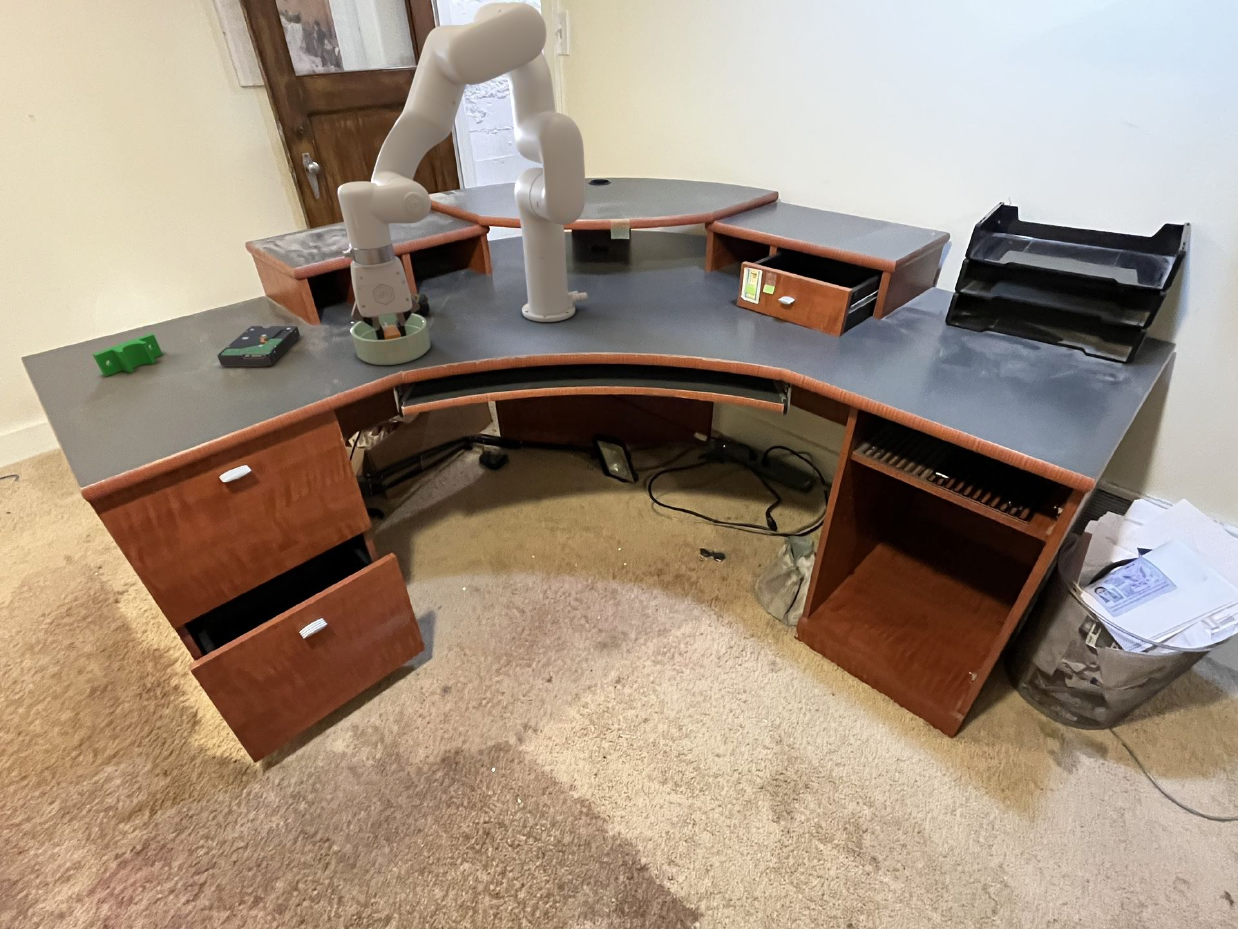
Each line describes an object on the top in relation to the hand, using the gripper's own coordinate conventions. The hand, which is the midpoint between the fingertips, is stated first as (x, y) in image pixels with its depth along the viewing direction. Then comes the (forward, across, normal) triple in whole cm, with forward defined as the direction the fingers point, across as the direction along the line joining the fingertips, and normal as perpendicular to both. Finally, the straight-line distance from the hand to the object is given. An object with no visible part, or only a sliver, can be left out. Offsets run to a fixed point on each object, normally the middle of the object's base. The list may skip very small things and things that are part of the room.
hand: (393, 342), depth 128 cm
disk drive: (+3, -25, +14) cm, 29 cm away
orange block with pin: (0, 0, +2) cm, 2 cm away
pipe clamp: (+3, -48, +18) cm, 51 cm away
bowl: (+3, 0, +2) cm, 4 cm away
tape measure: (+3, +9, +22) cm, 24 cm away
